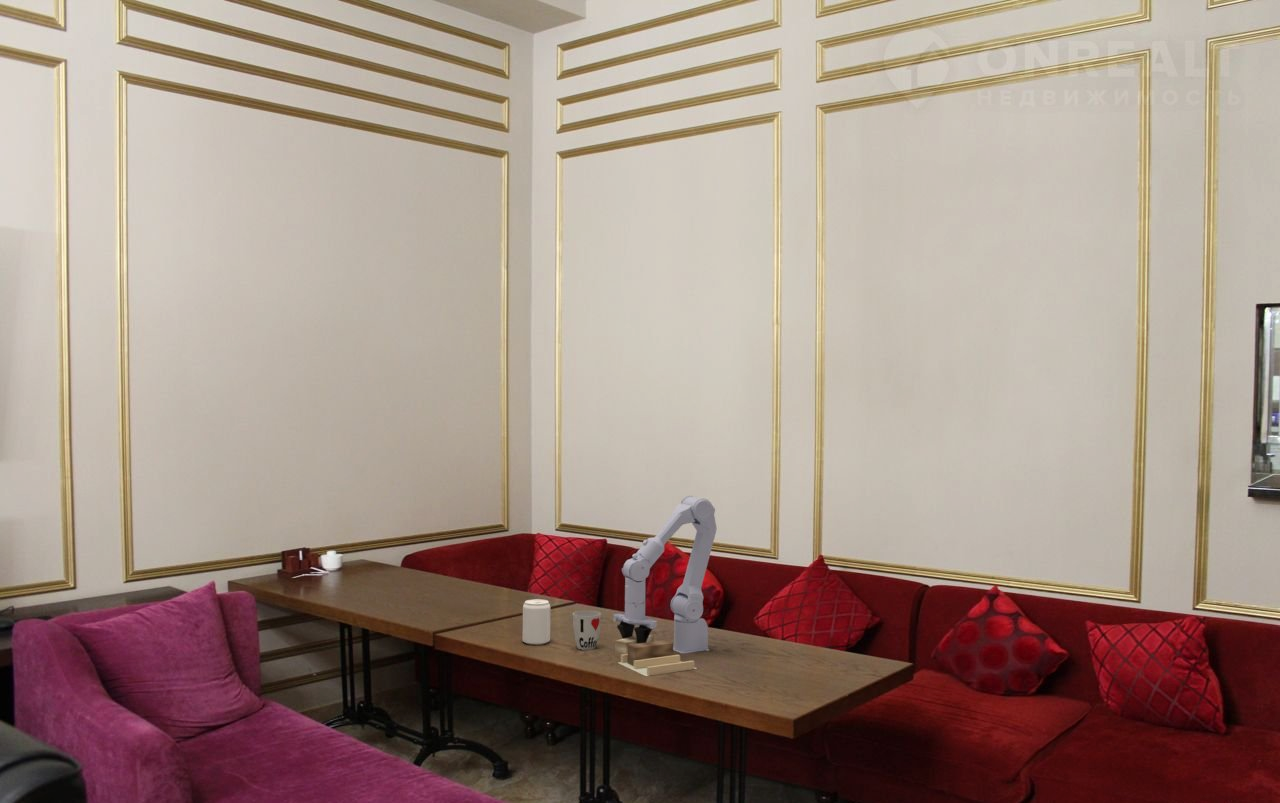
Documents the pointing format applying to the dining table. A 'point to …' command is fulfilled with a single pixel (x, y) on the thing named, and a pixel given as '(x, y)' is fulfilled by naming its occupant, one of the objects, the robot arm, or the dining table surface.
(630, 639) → the beige wooden block
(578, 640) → the cup
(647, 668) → the slot board
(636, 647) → the brown wooden block
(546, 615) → the beverage can
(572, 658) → the dining table surface
